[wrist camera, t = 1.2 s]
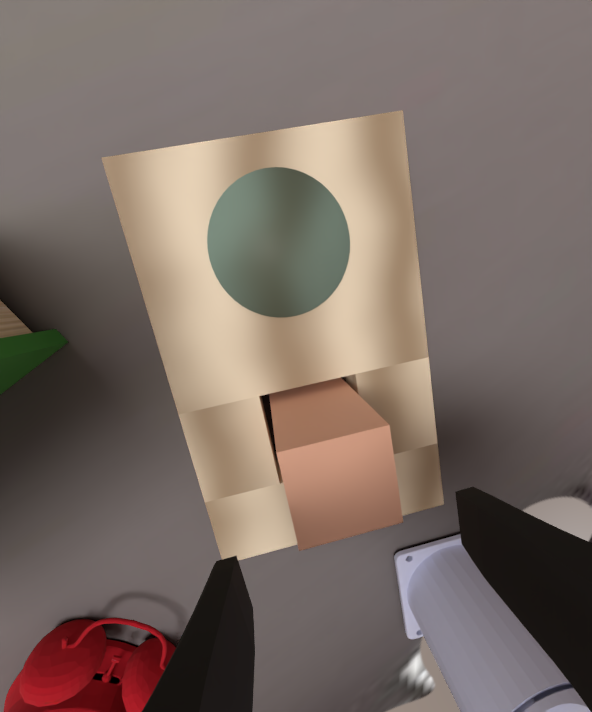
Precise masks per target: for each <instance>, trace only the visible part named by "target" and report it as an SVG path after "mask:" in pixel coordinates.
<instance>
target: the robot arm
mask: <svg viewBox="0 0 592 712" xmlns="http://www.w3.org/2000/svg"><path fill="white" fill-rule="evenodd" d="M456 500H457V509H458V517H459V526H460V534H458V535H455V536H451V537H448V538H444V539H441V540H437V541H434V542H430V543H426V544H423V545H419V546H416V547H412V548H409V549H405V550H402V551H399V552H397V553H396V554H395V556H394V561H395V567H396V574H397V580H398V587H399V594H400V600H401V607H402V613H403V620H404V626H405V632H406V634H407V637H408V638H409V639H416V638H419V637H422V636H424V638H425V640H426V642H427V644H428V646H429V648H430V650H431V652H432V654H433V656H434V658H435V660H436V662H437V664H438V666H439V668H440V670H441V673H442V674H443V676H444V679H445V681H446V683H447V685H448V687H449V689H450V690H451V693H452V695H453V697H454V699H455V701H456V703H457V705H458V707H459V709H460V711H461V712H592V543H590V542H588V541H585V540H583V539H581V538H579V537H576V536H574V535H572V534H570V533H567V532H565V531H563V530H560V529H558V528H557V527H554V526H552V525H550V524H548V523H546V522H544V521H542V520H540V519H537V518H535V517H534V516H531V515H529V514H527V513H525V512H523V511H521V510H519V509H517V508H515V507H513V506H511V505H509V504H507V503H505V502H503V501H501V500H499V499H497V498H495V497H493V496H491V495H489V494H487V493H485V492H483V491H481V490H479V489H477V488H475V487H470V488H467V489H464V490H460V491H457V492H456ZM408 556H409V557H408ZM254 658H255V644H254V621H253V607H252V604H251V600H250V597H249V594H248V591H247V588H246V585H245V581H244V578H243V575H242V572H241V569H240V565H239V562H238V559H237V556H233V557H229V558H226V559H223V560H219V561H217V562H216V563H215V565H214V567H213V569H212V571H211V574H210V576H209V578H208V581H207V583H206V585H205V587H204V590H203V592H202V594H201V596H200V599H199V601H198V603H197V605H196V607H195V610H194V612H193V614H192V616H191V618H190V620H189V622H188V624H187V626H186V628H185V631H184V633H183V635H182V637H181V639H180V641H179V643H178V645H177V647H176V649H175V651H174V653H173V655H172V657H171V659H170V660H169V662H168V664H167V666H166V668H165V670H164V672H163V674H162V676H161V678H160V679H159V681H158V683H157V685H156V687H155V689H154V691H153V693H152V694H151V696H150V698H149V700H148V701H147V703H146V705H145V707H144V709H143V710H142V712H252V706H253V683H254Z"/></svg>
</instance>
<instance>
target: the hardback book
mask: <svg viewBox="0 0 592 712" xmlns="http://www.w3.org/2000/svg"><path fill="white" fill-rule="evenodd" d="M67 343H68V341H67V340H66V339H65V338H64V337H63V336H62V335H61V334H60V333H59V332H58V331H57V330H56V329H52V330H46V331H40V332H34V333H32V332H31V331H30V330H29V329H28V327H27V326H26V325H25V324H24V323H23V322H22V321H21V320H20V319H19V318H18V317H17V316H16V315H15V314H14V313H13V312H12V311H11V310H10V309H9V308H8V307H7V306H6V305H5V304H4V303H3V302H2V301H1V300H0V395H1V394H2V393H3V392H4V391H6V390H7V389H8V388H10V387H11V386H12V385H13V384H15V383H16V382H17V381H19V380H20V379H21V378H23V377H24V376H25V375H26V374H28V373H29V372H30V371H32V370H33V369H34V368H35V367H37V366H38V365H39V364H41V363H42V362H43V361H45V360H46V359H47V358H48V357H50V356H51V355H52V354H54V353H55V352H56V351H58V350H59V349H60V348H61V347H63V346H64V345H65V344H67Z"/></svg>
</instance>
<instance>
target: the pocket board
mask: <svg viewBox="0 0 592 712" xmlns="http://www.w3.org/2000/svg"><path fill="white" fill-rule="evenodd" d="M102 161H103V165H104V168H105V171H106V175H107V178H108V181H109V185H110V188H111V191H112V195H113V198H114V201H115V205H116V208H117V211H118V215H119V218H120V221H121V225H122V228H123V231H124V235H125V238H126V241H127V245H128V248H129V251H130V255H131V258H132V261H133V265H134V268H135V271H136V275H137V278H138V281H139V285H140V288H141V291H142V295H143V298H144V301H145V305H146V308H147V311H148V315H149V318H150V321H151V325H152V328H153V331H154V334H155V338H156V341H157V344H158V348H159V351H160V354H161V358H162V361H163V364H164V368H165V371H166V374H167V378H168V381H169V384H170V388H171V391H172V394H173V398H174V401H175V404H176V408H177V411H178V414H179V418H180V421H181V424H182V428H183V431H184V434H185V438H186V441H187V444H188V448H189V451H190V454H191V458H192V461H193V464H194V468H195V471H196V474H197V478H198V481H199V484H200V488H201V491H202V494H203V498H204V501H205V504H206V508H207V511H208V514H209V518H210V521H211V524H212V528H213V531H214V534H215V538H216V541H217V544H218V548H219V551H220V554H221V558H222V560H223V559H226V558H229V557H233V556H237V559H238V560H242V559H246V558H249V557H253V556H257V555H260V554H264V553H268V552H271V551H275V550H279V549H282V548H286V547H290V546H293V545H297V539H296V535H295V531H294V526H293V522H292V518H291V513H290V509H289V505H288V501H287V496H286V492H285V488H284V483H283V479H282V475H281V470H280V466H279V462H278V460H277V459H276V455H275V451H274V446H273V442H272V438H271V434H270V429H269V425H268V421H267V416H266V412H265V408H264V404H263V399H262V395H266V394H270V393H275V392H279V391H284V390H288V389H292V388H297V387H301V386H305V385H310V384H314V383H318V382H323V381H327V380H331V379H336V378H340V377H345V379H346V383H347V384H348V385H349V386H350V387H351V388H352V389H353V390H354V391H355V392H356V393H357V394H358V395H359V396H360V397H361V398H362V399H363V400H364V401H365V402H367V403H368V404H369V405H370V406H371V407H372V408H373V409H374V410H375V411H376V412H377V413H378V414H379V415H380V416H381V417H382V418H383V419H384V420H385V421H386V422H387V423H388V424H389V425H390V432H391V439H392V446H393V453H394V460H395V467H396V474H397V481H398V488H399V496H400V503H401V510H402V516H403V515H407V514H411V513H414V512H418V511H422V510H425V509H429V508H433V507H436V506H440V505H444V500H443V491H442V481H441V472H440V462H439V453H438V443H437V433H436V424H435V414H434V405H433V395H432V386H431V376H430V367H429V357H428V348H427V338H426V328H425V319H424V309H423V300H422V290H421V281H420V271H419V262H418V252H417V243H416V233H415V224H414V214H413V204H412V195H411V185H410V176H409V166H408V157H407V147H406V138H405V128H404V119H403V110H402V111H396V112H390V113H383V114H377V115H370V116H364V117H358V118H351V119H345V120H339V121H332V122H326V123H320V124H313V125H307V126H301V127H294V128H288V129H281V130H275V131H269V132H262V133H256V134H250V135H243V136H237V137H231V138H224V139H218V140H212V141H205V142H199V143H192V144H186V145H180V146H173V147H167V148H161V149H154V150H148V151H142V152H135V153H129V154H122V155H116V156H110V157H103V158H102Z"/></svg>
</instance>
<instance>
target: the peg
mask: <svg viewBox="0 0 592 712" xmlns="http://www.w3.org/2000/svg"><path fill="white" fill-rule="evenodd" d="M269 398H270V406H271V414H272V422H273V430H274V438H275V446H276V453H277V458H278V462H279V466H280V470H281V475H282V479H283V483H284V488H285V492H286V496H287V501H288V505H289V509H290V513H291V518H292V522H293V526H294V531H295V535H296V539H297V544H298V548H299V551H301V550H304V549H308V548H311V547H315V546H319V545H322V544H326V543H330V542H333V541H337V540H341V539H344V538H348V537H352V536H355V535H359V534H362V533H366V532H370V531H373V530H377V529H381V528H384V527H388V526H392V525H395V524H399V523H403V517H402V510H401V503H400V496H399V488H398V481H397V474H396V467H395V460H394V453H393V446H392V439H391V432H390V425H389V424H388V423H387V422H386V421H385V420H384V419H383V418H382V417H381V416H380V415H379V414H378V413H377V412H376V411H375V410H374V409H373V408H372V407H371V406H370V405H369V404H368V403H367V402H365V401H364V400H363V399H362V398H361V397H360V396H359V395H358V394H357V393H356V392H355V391H354V390H353V389H352V388H351V387H350V386H349V385H348V384H347V383H346V382H345V381H344V380H343V379H342V378H341V377H340V378H336V379H331V380H327V381H323V382H318V383H314V384H310V385H305V386H301V387H297V388H292V389H288V390H284V391H279V392H275V393H270V394H269Z"/></svg>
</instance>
